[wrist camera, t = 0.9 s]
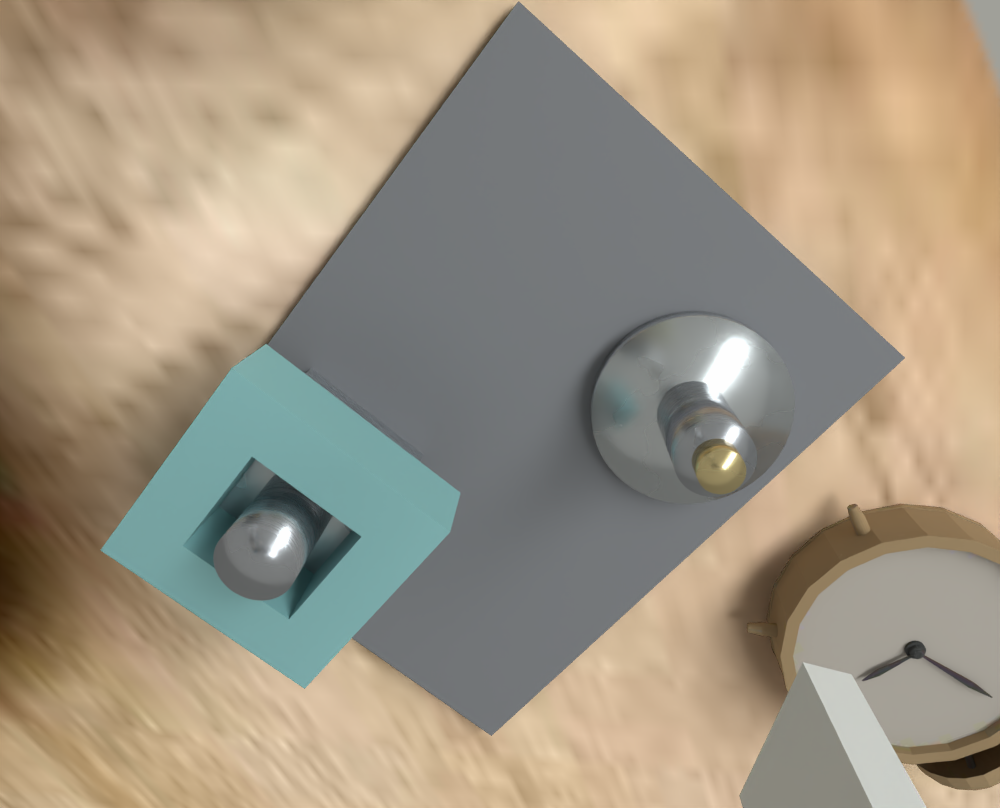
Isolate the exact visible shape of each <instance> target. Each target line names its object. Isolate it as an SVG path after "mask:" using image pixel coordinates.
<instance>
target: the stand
mask: <svg viewBox="0 0 1000 808" xmlns="http://www.w3.org/2000/svg"><path fill="white" fill-rule="evenodd" d="M305 374H306V375H307V376H309V377H310V378H311V379H313V380H314V381H315V382H317V383H318V384H319V385H320V386H322V387H323V388H324V389H326V390H327V391H328V392H330V393H331V394H332V395H334V396H335V397H336V398H337V399H339V400H340V401H341V402H343V403H344V404H345V405H347V406H348V407H349V408H351V409H352V410H353V411H354V412H356V413H357V414H358V415H360V416H361V417H362V418H364V419H365V420H366V421H368V422H369V423H370V424H371V425H373V426H374V427H375V428H377V429H378V430H379V431H381V432H382V433H383V434H385V435H386V436H387V437H388V438H390V439H391V440H392V441H394V442H395V443H396V444H398V445H399V446H400V447H402V448H403V449H404V450H405V451H407V452H408V453H409V454H411V455H412V456H413V457H415V458H416V459H417V460H418V461H421V459H422V456H423V453H421V452H420V451H419V450H417V449H416V448H415V447H413V446H412V445H411V444H410V443H408V442H407V441H406V440H404V439H403V438H402V437H400V436H399V435H398V434H396V433H395V432H394V431H393V430H391V429H390V428H389V427H387V426H386V425H385V424H383V423H382V422H381V421H380V420H378V419H377V418H376V417H374V416H373V415H372V414H370V413H369V412H368V411H367V410H365V409H364V408H363V407H361V406H360V405H359V404H357V403H356V402H355V401H354V400H352V399H351V398H350V397H348V396H347V395H346V394H344V393H343V392H342V391H341V390H339V389H338V388H337V387H335V386H334V385H333V384H331V383H330V382H329V381H327V380H326V379H325V378H324V377H322V376H321V375H320V374H318V373H317V372H316V371H314V370H313V369H312V368H311V369H310V370H309V371H308V372H306V373H305ZM219 507H221V508H222V509H223V510H225V511H226V512H228V513H229V514H230V515H232V516H233V517H235V518H236V519H237V520H236V521H235V522H234V523H233V524H232V526H231V527H230V528H229V529H228V530H227V532H226V533H225V534H224V535H223V536H222V538H221V539H220V540H219V541H218V543H217V545H216V547H215V550H214V555H213V561H214V567H215V570H216V572H217V574H218V576H219V578H220V579H221V581H222V582H223V583H224V584H225V585H226V586H227V587H228V588H229V589H230V590H231V591H233V592H234V593H236V594H238V595H240V596H242V597H244V598H247V599H251V600H258V601H264V600H271V599H274V598H277V597H279V596H281V595H283V594H284V593H286V592H287V591H288V590H289V589H290V587H291V586H292V584H293V583H294V581H295V579H296V578H297V576H298V574H299V573H300V571H301V569H302V567H303V566H304V567H305V568H306V569H308V570H309V571H311V572H312V573H313V574H315V572H316V571H317V570H318V569H319V568H320V567H321V566H322V564H323V563H324V562H325V561H326V560H327V559H328V557H329V556H330V555H331V554H332V553H333V552H334V551H335V549H336V548H337V547H338V546H339V545H340V544H341V542H342V541H343V540H344V539H345V538H346V537H347V536H348V534H349V533H350V532H351V531H352V529H350V528H349V527H348V526H346V525H345V524H344V523H342V522H341V521H339V520H338V519H337V518H335V517H334V516H333V515H331V514H330V513H328V512H327V511H326V510H324V509H323V508H322V507H320V506H319V505H318V504H316V503H315V502H313V501H312V500H311V499H309V498H308V497H307V496H305V495H304V494H302V493H301V492H300V491H298V490H297V489H296V488H294V487H293V486H292V485H290V484H289V483H287V482H286V481H285V480H283V479H282V478H281V477H279V476H278V475H277V474H275V473H274V472H272V471H271V470H270V469H268V468H267V467H266V466H264V465H263V464H261V463H260V462H259V461H257V460H255V461H254V462H253V463H252V465H251V466H250V467H249V469H248V470H247V471H246V472H245V474H244V475H243V476H242V478H241V479H240V480H239V482H238V483H237V484H236V485H235V487H234V488H233V489H232V491H231V492H230V493H229V494H228V496H227V497H226V498H225V500H224V501H223V502H222V504H221V505H220V506H219Z"/></svg>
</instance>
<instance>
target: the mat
mask: <svg viewBox="0 0 1000 808" xmlns="http://www.w3.org/2000/svg"><path fill="white" fill-rule="evenodd" d="M684 311H705V312H714V313H718V314H722V315H726V316H728V317H731V318H733V319H736V320H738V321H740V322H742V323H744V324H745V325H747V326H749V327H750V328H752V329H753V330H754V331H755V332H757V333H758V334H759V335H760V336H762V337H763V338H764V339H765V340H766V341H767V342H768V343H769V344H770V345H771V346H772V347H773V348H774V349H775V351H776V352H777V353H778V355H779V356H780V357H781V359H782V360H783V362H784V364H785V366H786V368H787V370H788V372H789V375H790V378H791V381H792V385H793V390H794V397H795V411H794V420H793V424H792V428H791V432H790V434H789V437H788V439H787V442H786V444H785V446H784V448H783V449H782V451H781V453H780V455H779V456H778V457H777V459H776V460H775V461H774V463H773V464H772V465H771V466H770V467H769V468H768V469H767V470H766V472H765V473H764V474H763V475H761V476H760V477H759V478H758V479H756V480H755V481H754V482H753V483H751V484H750V485H748V486H747V487H745V488H743V489H742V490H740V491H738V492H736V493H734V494H731V495H729V496H726V497H723V498H721V499H717V500H713V501H709V502H703V503H694V504H679V503H671V502H665V501H661V500H657V499H654V498H651V497H649V496H646V495H644V494H642V493H640V492H638V491H636V490H634V489H632V488H631V487H630V486H628V485H627V484H625V483H624V482H623V481H622V480H621V479H620V478H618V477H617V476H616V475H615V474H614V473H613V471H612V470H611V469H610V468H609V467H608V465H607V464H606V462H605V461H604V459H603V457H602V456H601V454H600V451H599V449H598V447H597V445H596V441H595V438H594V434H593V428H592V420H591V413H590V408H591V395H592V388H593V385H594V382H595V378H596V376H597V373H598V371H599V369H600V367H601V365H602V363H603V362H604V360H605V358H606V357H607V355H608V354H609V353H610V351H611V350H612V349H613V348H614V347H615V345H616V344H617V343H618V342H619V341H621V340H622V339H623V338H624V337H625V336H626V335H627V334H629V333H630V332H631V331H633V330H634V329H635V328H637V327H639V326H641V325H642V324H644V323H646V322H648V321H650V320H653V319H655V318H658V317H660V316H664V315H668V314H671V313H677V312H684ZM268 346H270V347H271V348H272V349H273V350H275V351H276V352H277V353H279V354H280V355H281V356H283V357H284V358H285V359H287V360H288V361H289V362H290V363H292V364H293V365H294V366H296V367H297V368H298V369H300V370H301V371H302V372H303V373H306V372H308V371H309V370H310V369H311V368H312V369H313V370H314V371H316V372H317V373H318V374H320V375H321V376H322V377H324V378H325V379H326V380H327V381H329V382H330V383H331V384H333V385H334V386H335V387H337V388H338V389H339V390H341V391H342V392H343V393H344V394H346V395H347V396H348V397H350V398H351V399H352V400H354V401H355V402H356V403H357V404H359V405H360V406H361V407H363V408H364V409H365V410H367V411H368V412H369V413H370V414H372V415H373V416H374V417H376V418H377V419H378V420H380V421H381V422H382V423H383V424H385V425H386V426H387V427H389V428H390V429H391V430H393V431H394V432H395V433H396V434H398V435H399V436H400V437H402V438H403V439H404V440H406V441H407V442H408V443H410V444H411V445H412V446H413V447H415V448H416V449H417V450H419V451H420V452H421V453H423V456H422V459H421V461H420V462H421V463H422V464H424V465H425V466H426V467H428V468H429V469H430V470H432V471H433V472H434V473H435V474H437V475H438V476H439V477H441V478H442V479H443V480H445V481H446V482H447V483H449V484H450V485H451V486H452V487H454V488H455V489H456V490H458V491H459V492H460V497H459V501H458V504H457V508H456V512H455V516H454V520H453V523H452V527H451V531H450V533H449V534H448V535H447V536H446V537H445V538H444V539H443V540H442V541H441V543H440V544H439V545H438V546H437V547H436V548H435V549H434V550H433V551H432V552H431V553H430V554H429V555H428V557H427V558H426V559H425V560H424V561H423V562H422V563H421V564H420V565H419V566H418V567H417V568H416V569H415V570H414V572H413V573H412V574H411V575H410V576H409V577H408V578H407V579H406V580H405V581H404V582H403V583H402V584H401V586H400V587H399V588H398V589H397V590H396V591H395V592H394V593H393V594H392V595H391V596H390V597H389V598H388V600H387V601H386V602H385V603H384V604H383V605H382V606H381V607H380V608H379V609H378V610H377V611H376V612H375V614H374V615H373V616H372V617H371V618H370V619H369V620H368V621H367V622H366V623H365V624H364V625H363V626H362V627H361V629H360V630H359V631H358V632H357V633H356V634H355V635H354V636H353V637H352V638H353V639H354V640H355V641H357V642H358V643H360V644H361V645H363V646H364V647H365V648H367V649H368V650H370V651H371V652H373V653H374V654H375V655H377V656H378V657H380V658H381V659H382V660H384V661H385V662H387V663H388V664H390V665H391V666H392V667H394V668H395V669H397V670H398V671H400V672H401V673H402V674H404V675H405V676H407V677H408V678H410V679H411V680H412V681H414V682H415V683H417V684H418V685H420V686H421V687H422V688H424V689H425V690H427V691H428V692H430V693H431V694H432V695H434V696H435V697H437V698H438V699H440V700H441V701H442V702H444V703H445V704H447V705H448V706H450V707H451V708H452V709H454V710H455V711H457V712H458V713H459V714H461V715H462V716H464V717H465V718H467V719H468V720H469V721H471V722H472V723H474V724H475V725H477V726H478V727H479V728H481V729H482V730H484V731H485V732H487V733H488V734H489V735H491V736H492V735H493V734H494V733H495V732H496V731H497V730H498V729H499V728H501V727H502V726H503V725H504V724H505V723H506V722H507V721H508V720H509V719H510V718H511V717H513V716H514V715H515V714H516V713H517V712H518V711H519V710H520V709H521V708H522V707H524V706H525V705H526V704H527V703H528V702H529V701H530V700H531V699H532V698H533V697H534V696H536V695H537V694H538V693H539V692H540V691H541V690H542V689H543V688H544V687H545V686H547V685H548V684H549V683H550V682H551V681H552V680H553V679H554V678H555V677H556V676H557V675H559V674H560V673H561V672H562V671H563V670H564V669H565V668H566V667H567V666H568V665H570V664H571V663H572V662H573V661H574V660H575V659H576V658H577V657H578V656H579V655H580V654H582V653H583V652H584V651H585V650H586V649H587V648H588V647H589V646H590V645H591V644H592V643H594V642H595V641H596V640H597V639H598V638H599V637H600V636H601V635H602V634H603V633H605V632H606V631H607V630H608V629H609V628H610V627H611V626H612V625H613V624H614V623H615V622H617V621H618V620H619V619H620V618H621V617H622V616H623V615H624V614H625V613H626V612H628V611H629V610H630V609H631V608H632V607H633V606H634V605H635V604H636V603H637V602H638V601H640V600H641V599H642V598H643V597H644V596H645V595H646V594H647V593H648V592H649V591H651V590H652V589H653V588H654V587H655V586H656V585H657V584H658V583H659V582H660V581H661V580H663V579H664V578H665V577H666V576H667V575H668V574H669V573H670V572H671V571H672V570H673V569H675V568H676V567H677V566H678V565H679V564H680V563H681V562H682V561H683V560H684V559H686V558H687V557H688V556H689V555H690V554H691V553H692V552H693V551H694V550H695V549H696V548H698V547H699V546H700V545H701V544H702V543H703V542H704V541H705V540H706V539H707V538H709V537H710V536H711V535H712V534H713V533H714V532H715V531H716V530H717V529H718V528H719V527H721V526H722V525H723V524H724V523H725V522H726V521H727V520H728V519H729V518H730V517H732V516H733V515H734V514H735V513H736V512H737V511H738V510H739V509H740V508H741V507H742V506H744V505H745V504H746V503H747V502H748V501H749V500H750V499H751V498H752V497H753V496H754V495H756V494H757V493H758V492H759V491H760V490H761V489H762V488H763V487H764V486H765V485H767V484H768V483H769V482H770V481H771V480H772V479H773V478H774V477H775V476H776V475H777V474H779V473H780V472H781V471H782V470H783V469H784V468H785V467H786V466H787V465H788V464H790V463H791V462H792V461H793V460H794V459H795V458H796V457H797V456H798V455H799V454H800V453H802V452H803V451H804V450H805V449H806V448H807V447H808V446H809V445H810V444H811V443H813V442H814V441H815V440H816V439H817V438H818V437H819V436H820V435H821V434H822V433H823V432H825V431H826V430H827V429H828V428H829V427H830V426H831V425H832V424H833V423H834V422H836V421H837V420H838V419H839V418H840V417H841V416H842V415H843V414H844V413H845V412H846V411H848V410H849V409H850V408H851V407H852V406H853V405H854V404H855V403H856V402H857V401H858V400H860V399H861V398H862V397H863V396H864V395H865V394H866V393H867V392H868V391H869V390H871V389H872V388H873V387H874V386H875V385H876V384H877V383H878V382H879V381H880V380H881V379H883V378H884V377H885V376H886V375H887V374H888V373H889V372H890V371H891V370H892V369H894V368H895V367H896V366H897V365H898V364H899V363H900V362H901V361H902V360H903V359H904V358H905V357H904V356H902V355H901V354H900V353H899V352H898V351H897V350H896V349H895V348H894V347H893V346H892V345H891V344H889V343H888V342H887V341H886V340H885V339H884V338H883V337H882V336H881V335H880V334H879V333H878V332H876V331H875V330H874V329H873V328H872V327H871V326H870V325H869V324H868V323H867V322H866V321H864V320H863V319H862V318H861V317H860V316H859V315H858V314H857V313H856V312H855V311H854V310H853V309H851V308H850V307H849V306H848V305H847V304H846V303H845V302H844V301H843V300H842V299H841V298H840V297H838V296H837V295H836V294H835V293H834V292H833V291H832V290H831V289H830V288H829V287H828V286H827V285H825V284H824V283H823V282H822V281H821V280H820V279H819V278H818V277H817V276H816V275H815V274H814V273H812V272H811V271H810V270H809V269H808V268H807V267H806V266H805V265H804V264H803V263H802V262H801V261H799V260H798V259H797V258H796V257H795V256H794V255H793V254H792V253H791V252H790V251H789V250H788V249H786V248H785V247H784V246H783V245H782V244H781V243H780V242H779V241H778V240H777V239H776V238H775V237H773V236H772V235H771V234H770V233H769V232H768V231H767V230H766V229H765V228H764V227H763V226H762V225H760V224H759V223H758V222H757V221H756V220H755V219H754V218H753V217H752V216H751V215H750V214H749V213H747V212H746V211H745V210H744V209H743V208H742V207H741V206H740V205H739V204H738V203H737V202H736V201H734V200H733V199H732V198H731V197H730V196H729V195H728V194H727V193H726V192H725V191H724V190H722V189H721V188H720V187H719V186H718V185H717V184H716V183H715V182H714V181H713V180H712V179H711V178H709V177H708V176H707V175H706V174H705V173H704V172H703V171H702V170H701V169H700V168H699V167H698V166H696V165H695V164H694V163H693V162H692V161H691V160H690V159H689V158H688V157H687V156H686V155H685V154H683V153H682V152H681V151H680V150H679V149H678V148H677V147H676V146H675V145H674V144H673V143H672V142H670V141H669V140H668V139H667V138H666V137H665V136H664V135H663V134H662V133H661V132H660V131H659V130H657V129H656V128H655V127H654V126H653V125H652V124H651V123H650V122H649V121H648V120H647V119H646V118H644V117H643V116H642V115H641V114H640V113H639V112H638V111H637V110H636V109H635V108H634V107H633V106H631V105H630V104H629V103H628V102H627V101H626V100H625V99H624V98H623V97H622V96H621V95H620V94H618V93H617V92H616V91H615V90H614V89H613V88H612V87H611V86H610V85H609V84H608V83H607V82H605V81H604V80H603V79H602V78H601V77H600V76H599V75H598V74H597V73H596V72H595V71H594V70H592V69H591V68H590V67H589V66H588V65H587V64H586V63H585V62H584V61H583V60H582V59H580V58H579V57H578V56H577V55H576V54H575V53H574V52H573V51H572V50H571V49H570V48H569V47H567V46H566V45H565V44H564V43H563V42H562V41H561V40H560V39H559V38H558V37H557V36H556V35H554V34H553V33H552V32H551V31H550V30H549V29H548V28H547V27H546V26H545V25H544V24H543V23H541V22H540V21H539V20H538V19H537V18H536V17H535V16H534V15H533V14H532V13H531V12H530V11H528V10H527V9H526V8H525V7H524V6H523V5H522V4H521V3H520V2H519V1H518V3H517V4H516V5H515V7H514V8H513V9H512V11H511V12H510V13H509V15H508V16H507V18H506V19H505V20H504V22H503V23H502V24H501V26H500V27H499V29H498V30H497V31H496V33H495V34H494V35H493V37H492V38H491V39H490V41H489V42H488V44H487V45H486V46H485V48H484V49H483V50H482V52H481V53H480V55H479V56H478V57H477V59H476V60H475V61H474V63H473V64H472V65H471V67H470V68H469V70H468V71H467V72H466V74H465V75H464V76H463V78H462V79H461V81H460V82H459V83H458V85H457V86H456V87H455V89H454V90H453V91H452V93H451V94H450V96H449V97H448V98H447V100H446V101H445V102H444V104H443V105H442V107H441V108H440V109H439V111H438V112H437V113H436V115H435V116H434V117H433V119H432V120H431V122H430V123H429V124H428V126H427V127H426V128H425V130H424V131H423V133H422V134H421V135H420V137H419V138H418V139H417V141H416V142H415V143H414V145H413V146H412V148H411V149H410V150H409V152H408V153H407V154H406V156H405V157H404V159H403V160H402V161H401V163H400V164H399V165H398V167H397V168H396V169H395V171H394V172H393V174H392V175H391V176H390V178H389V179H388V180H387V182H386V183H385V185H384V186H383V187H382V189H381V190H380V191H379V193H378V194H377V195H376V197H375V198H374V200H373V201H372V202H371V204H370V205H369V206H368V208H367V209H366V211H365V212H364V213H363V215H362V216H361V217H360V219H359V220H358V221H357V223H356V224H355V226H354V227H353V228H352V230H351V231H350V232H349V234H348V235H347V237H346V238H345V239H344V241H343V242H342V243H341V245H340V246H339V247H338V249H337V250H336V252H335V253H334V254H333V256H332V257H331V258H330V260H329V261H328V263H327V264H326V265H325V267H324V268H323V269H322V271H321V272H320V273H319V275H318V276H317V278H316V279H315V280H314V282H313V283H312V284H311V286H310V287H309V289H308V290H307V291H306V293H305V294H304V295H303V297H302V298H301V299H300V301H299V302H298V304H297V305H296V306H295V308H294V309H293V310H292V312H291V313H290V315H289V316H288V317H287V319H286V320H285V321H284V323H283V324H282V325H281V327H280V328H279V330H278V331H277V332H276V334H275V335H274V336H273V338H272V339H271V341H270V342H269V343H268Z"/></svg>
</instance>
